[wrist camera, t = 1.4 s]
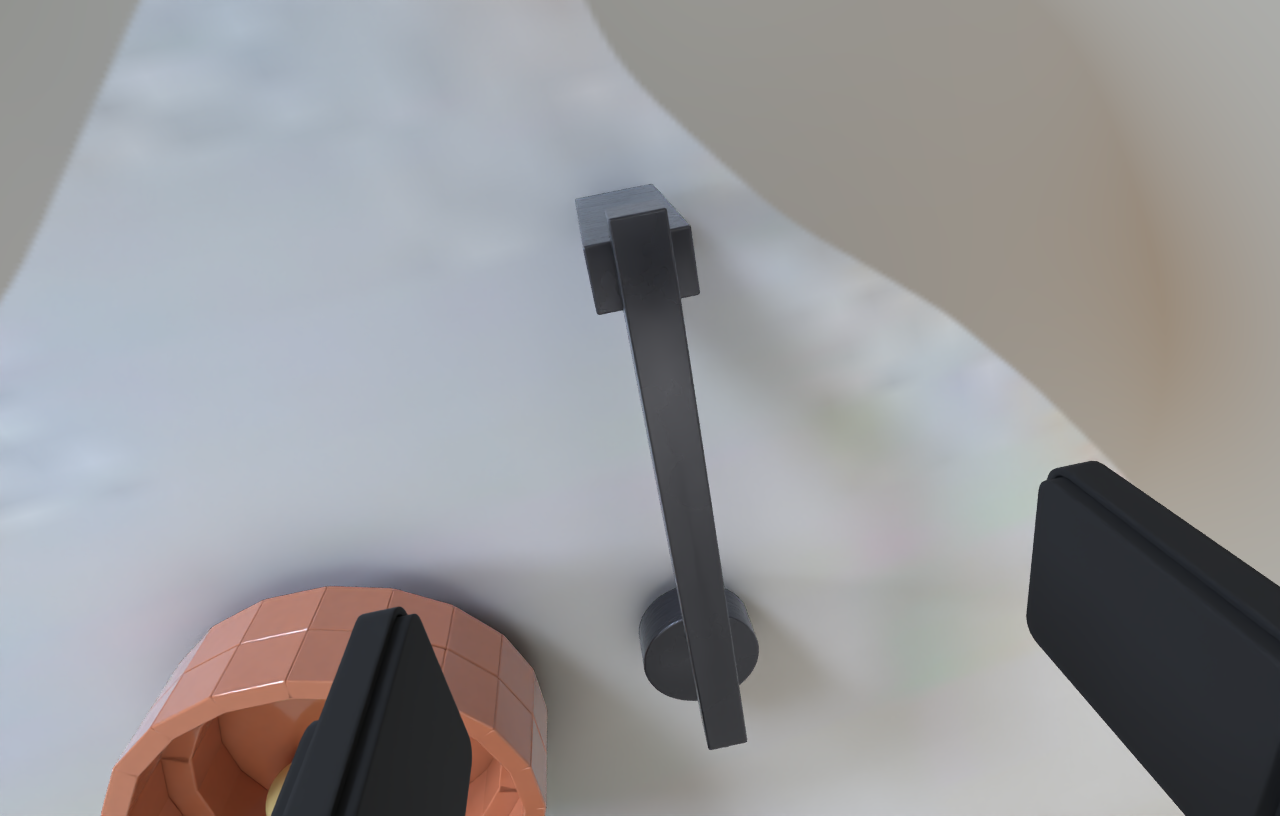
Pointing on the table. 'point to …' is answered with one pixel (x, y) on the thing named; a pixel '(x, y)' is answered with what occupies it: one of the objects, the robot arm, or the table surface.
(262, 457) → the table surface
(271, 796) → the pale yellow ball
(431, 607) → the bowl
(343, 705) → the robot arm
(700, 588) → the black lever handle
